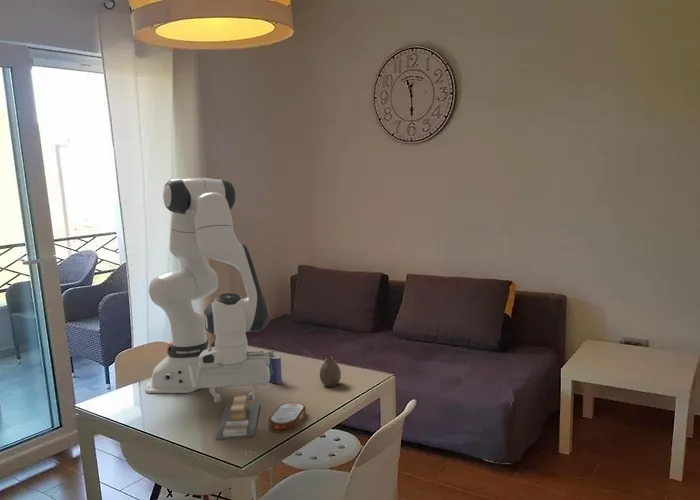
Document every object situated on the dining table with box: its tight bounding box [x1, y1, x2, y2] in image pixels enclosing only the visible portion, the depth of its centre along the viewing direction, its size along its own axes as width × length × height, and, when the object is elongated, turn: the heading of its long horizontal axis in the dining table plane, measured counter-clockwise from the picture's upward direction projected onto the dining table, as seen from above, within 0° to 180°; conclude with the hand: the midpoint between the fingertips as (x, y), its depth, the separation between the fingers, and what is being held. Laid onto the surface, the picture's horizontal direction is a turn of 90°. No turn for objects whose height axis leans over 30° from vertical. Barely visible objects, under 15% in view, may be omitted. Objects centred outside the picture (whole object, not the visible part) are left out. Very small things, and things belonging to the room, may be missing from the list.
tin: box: [268, 402, 307, 434], centre depth 164 cm, size 15×3×8 cm
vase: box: [319, 357, 342, 388], centre depth 191 cm, size 7×7×9 cm
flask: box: [264, 349, 283, 385], centre depth 197 cm, size 9×3×11 cm, turn 37°
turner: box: [223, 394, 249, 437], centre depth 164 cm, size 19×6×4 cm, turn 5°
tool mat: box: [215, 403, 261, 441], centre depth 165 cm, size 10×22×1 cm, turn 5°
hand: (234, 400), depth 165 cm, fingers open, 8 cm apart
